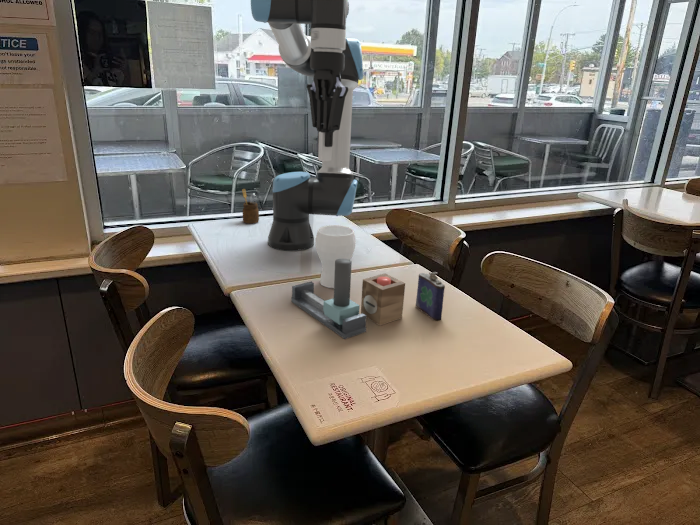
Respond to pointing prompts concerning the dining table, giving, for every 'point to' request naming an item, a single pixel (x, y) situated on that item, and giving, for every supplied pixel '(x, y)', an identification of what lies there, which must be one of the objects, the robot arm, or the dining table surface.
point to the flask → (430, 295)
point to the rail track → (314, 307)
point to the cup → (333, 249)
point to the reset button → (384, 281)
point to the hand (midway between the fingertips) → (324, 160)
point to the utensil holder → (250, 211)
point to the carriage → (341, 294)
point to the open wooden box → (382, 299)
